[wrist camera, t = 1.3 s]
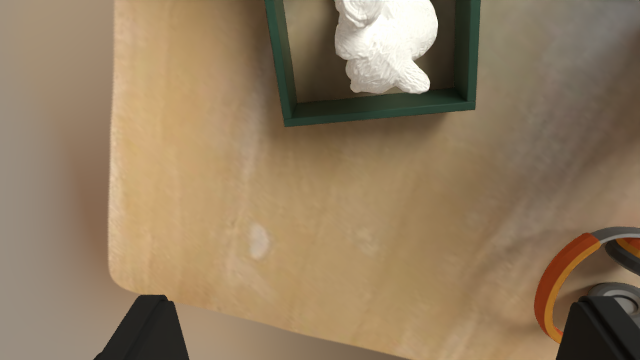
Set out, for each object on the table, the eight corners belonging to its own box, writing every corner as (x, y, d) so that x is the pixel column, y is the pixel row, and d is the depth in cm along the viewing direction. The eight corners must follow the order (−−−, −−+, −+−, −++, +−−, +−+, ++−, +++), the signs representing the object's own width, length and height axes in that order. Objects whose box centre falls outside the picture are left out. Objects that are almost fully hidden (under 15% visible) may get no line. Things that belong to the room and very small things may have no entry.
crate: (468, -113, 26) (487, -126, 22) (461, 94, 32) (475, 109, 28) (262, -83, 27) (249, -91, 24) (291, 110, 33) (284, 127, 30)
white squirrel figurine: (295, -10, 29) (266, 0, 19) (376, -76, 27) (396, -109, 16) (362, 88, 32) (370, 145, 21) (440, 34, 30) (493, 67, 19)
